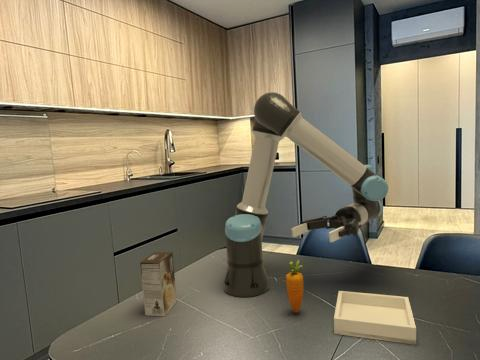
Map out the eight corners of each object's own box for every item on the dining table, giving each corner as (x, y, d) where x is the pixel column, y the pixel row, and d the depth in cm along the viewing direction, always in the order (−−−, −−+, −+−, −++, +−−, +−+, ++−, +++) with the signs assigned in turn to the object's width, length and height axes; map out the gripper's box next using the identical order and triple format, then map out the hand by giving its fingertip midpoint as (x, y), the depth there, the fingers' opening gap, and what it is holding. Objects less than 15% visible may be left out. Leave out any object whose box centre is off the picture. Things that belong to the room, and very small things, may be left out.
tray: (334, 333, 85) (333, 318, 84) (339, 304, 99) (338, 290, 99) (416, 344, 78) (416, 328, 78) (408, 311, 93) (408, 297, 93)
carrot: (299, 307, 99) (297, 256, 97) (308, 315, 94) (306, 262, 93) (283, 310, 97) (281, 259, 96) (292, 318, 93) (289, 265, 91)
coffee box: (158, 301, 108) (153, 251, 106) (177, 302, 107) (173, 251, 105) (144, 316, 99) (139, 261, 97) (165, 317, 98) (160, 262, 96)
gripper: (388, 231, 104) (350, 253, 91) (321, 225, 123) (280, 242, 110) (386, 207, 104) (346, 225, 90) (318, 204, 123) (277, 219, 109)
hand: (310, 235), depth 100 cm, fingers open, 13 cm apart
